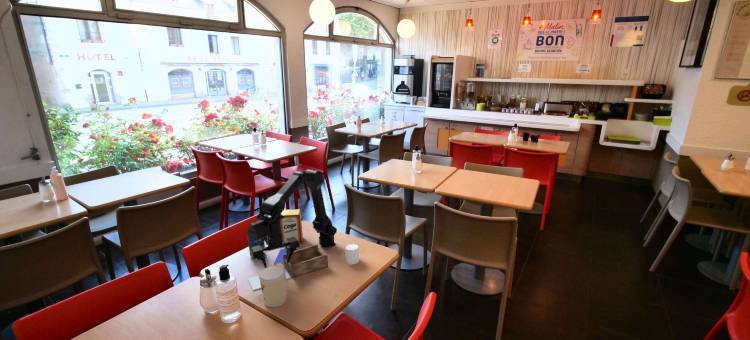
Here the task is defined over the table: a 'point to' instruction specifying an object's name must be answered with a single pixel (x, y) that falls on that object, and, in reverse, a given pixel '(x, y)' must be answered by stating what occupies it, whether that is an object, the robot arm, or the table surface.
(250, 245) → the soda can
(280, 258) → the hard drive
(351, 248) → the shot glass
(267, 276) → the coffee cup
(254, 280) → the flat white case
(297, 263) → the wooden box
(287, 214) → the baking soda box
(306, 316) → the table surface
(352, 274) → the table surface
